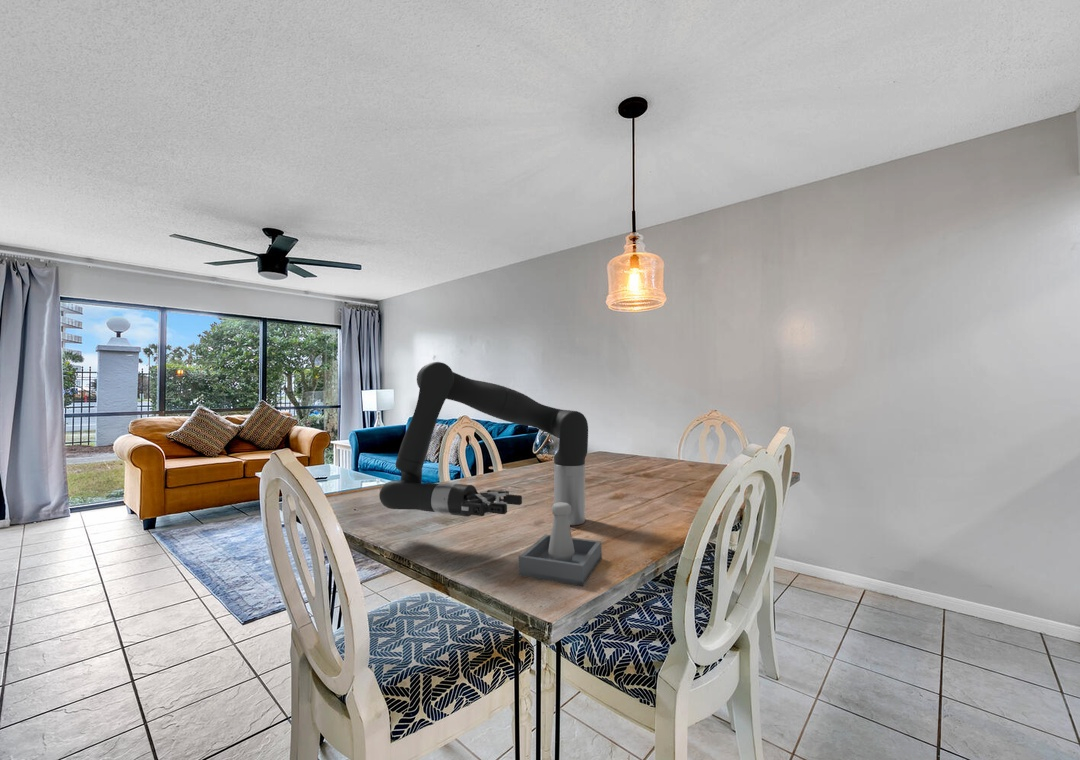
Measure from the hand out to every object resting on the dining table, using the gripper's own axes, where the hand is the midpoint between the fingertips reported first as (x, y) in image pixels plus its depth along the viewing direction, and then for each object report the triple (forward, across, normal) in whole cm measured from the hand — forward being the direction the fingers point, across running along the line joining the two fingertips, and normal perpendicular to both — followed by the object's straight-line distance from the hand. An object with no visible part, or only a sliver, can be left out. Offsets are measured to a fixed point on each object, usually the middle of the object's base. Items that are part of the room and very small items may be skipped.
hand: (514, 504), depth 105 cm
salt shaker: (+12, -1, +12) cm, 17 cm away
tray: (+12, -1, +12) cm, 17 cm away
